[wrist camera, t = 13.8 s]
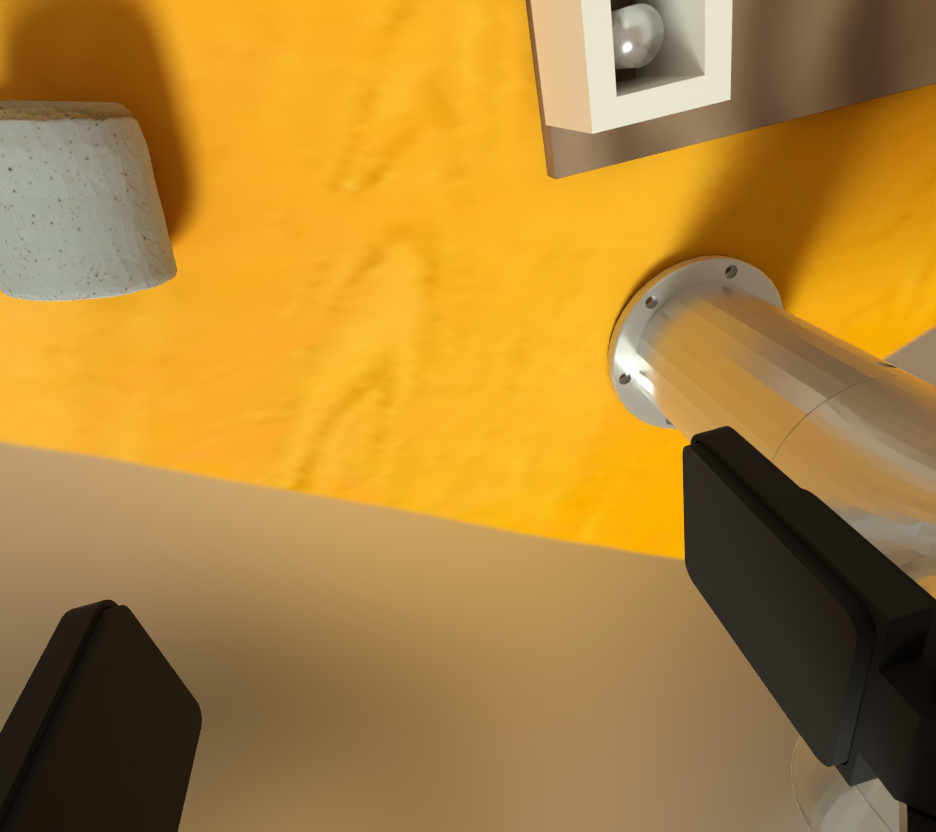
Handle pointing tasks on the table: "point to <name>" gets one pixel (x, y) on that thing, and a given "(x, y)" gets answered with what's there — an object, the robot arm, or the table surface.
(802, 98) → the walnut board
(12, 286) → the ceramic mug
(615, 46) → the metal stub
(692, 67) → the cream housing
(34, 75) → the table surface
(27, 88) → the table surface
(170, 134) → the table surface
